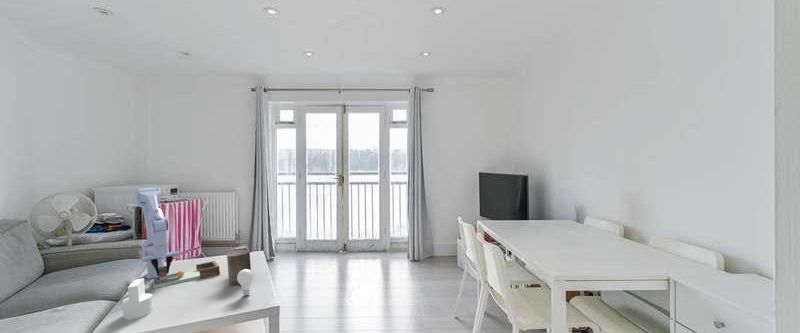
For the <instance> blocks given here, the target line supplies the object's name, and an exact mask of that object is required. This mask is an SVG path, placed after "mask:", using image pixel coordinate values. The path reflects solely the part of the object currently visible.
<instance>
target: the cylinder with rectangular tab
mask: <svg viewBox="0 0 800 333" xmlns="http://www.w3.org/2000/svg"><path fill="white" fill-rule="evenodd" d="M145 285H146V284H145V278H137V279H134V280H133V281H132V282H131V283H130V284H129V286H128V287H127V293H128V295H127V296H128V297H126V298H125V299H123V300H122V302H121V303H122V315H123V319H124V320H136V319H139V318H140V319H141V318H143V317H146V316H148V315H150V314H151V313H153V312H154V304H153V294H152V293H146V289H145V288H146V287H145Z"/></svg>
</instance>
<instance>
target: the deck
mask: <svg viewBox="0 0 800 333" xmlns="http://www.w3.org/2000/svg"><path fill="white" fill-rule="evenodd" d="M175 277H178V276H175ZM170 278H174V277H170ZM170 278H168V279H170ZM197 279H198V280H199V279H200V272H199V270H198V271H197V270H194V271H188V272H184V276H182V277H179V280H175V281H171V282H166V283H162V284H157V285H155V283H154V279H152V285H153V289H158V288H163V287H166V286H173V285H176V284H179V283H184V282H189V281H193V280H197ZM157 281H159V280H157Z"/></svg>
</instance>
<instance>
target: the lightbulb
mask: <svg viewBox="0 0 800 333" xmlns="http://www.w3.org/2000/svg"><path fill="white" fill-rule="evenodd" d="M254 276H255V275H254V273H253V270H252V269H251V270H249V269H243V270H241V271H240V272H239V273H238V275H237V281H238V282H239V284H240V285H239V286H240V287H241V289H242V295H243V296H244V297H245V296H246V297H247V296H249V295H250V294H251V289H250V288H251V284H252V282H253V281H254Z"/></svg>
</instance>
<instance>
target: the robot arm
mask: <svg viewBox="0 0 800 333" xmlns="http://www.w3.org/2000/svg"><path fill="white" fill-rule="evenodd" d="M161 198H162V192H161V188H160V187H158V186H157V187H150V188H137V189H136V190H135V201H136V205H137V207H139V208H141V209H142V211H143V216H144V222H145V223H144V225H145V229H146V238H147V239H146V240H144V242H142V244H141V256H142V257H141V259H142V263H146V271H147V272H146V273H145V275H146V279H147V280H148V279H149V280H150V279H154V278H155V277H159V269H158V267H163V266H166V267H167V275H169V273H170V272H169V271H170V267H171V264H172V262H173V260H174V258H173V257H181V251H180V250H178V251H177V250H176V251H170V250H169V238H168V231H169V221H168V219H167V217H165V214H164V212H163V210H162V209H161V208H159V204H160V202H161ZM169 251H170V252H169ZM165 262H166V263H165Z"/></svg>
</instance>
